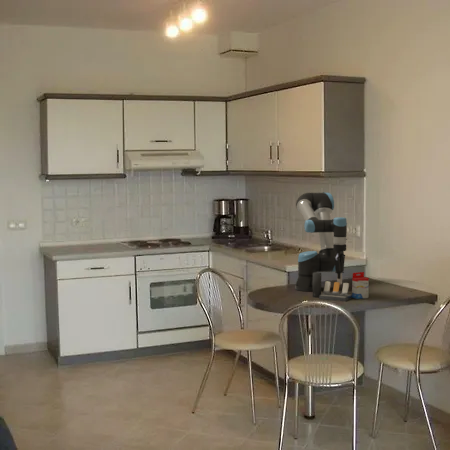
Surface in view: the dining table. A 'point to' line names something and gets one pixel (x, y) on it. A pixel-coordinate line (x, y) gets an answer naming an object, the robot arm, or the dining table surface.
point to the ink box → (360, 286)
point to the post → (316, 284)
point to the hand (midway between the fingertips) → (339, 283)
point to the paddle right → (345, 289)
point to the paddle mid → (336, 288)
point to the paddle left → (327, 287)
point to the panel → (335, 296)
